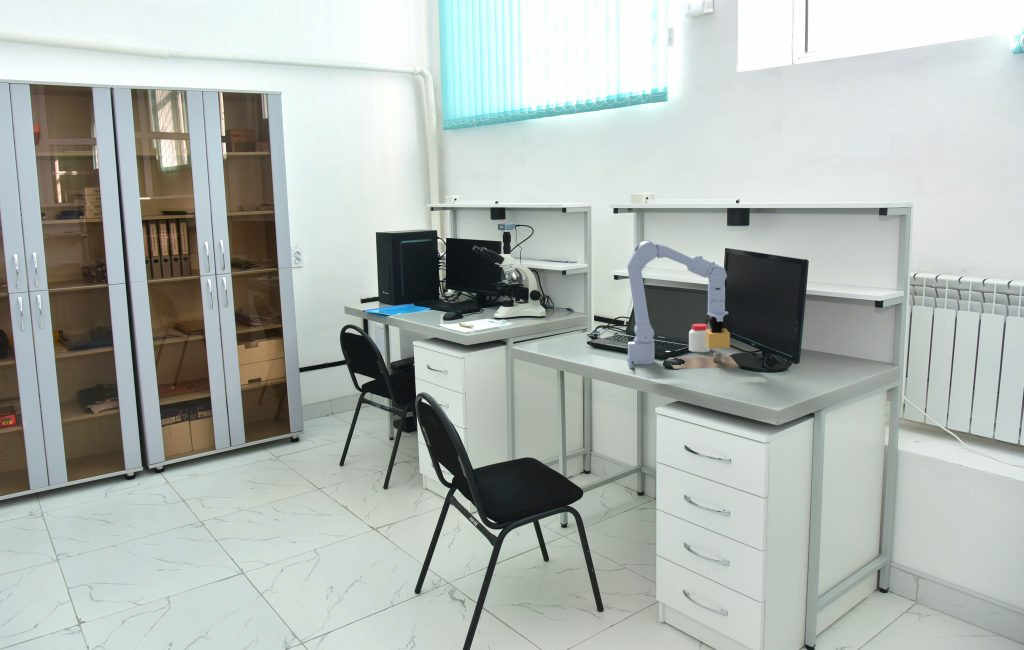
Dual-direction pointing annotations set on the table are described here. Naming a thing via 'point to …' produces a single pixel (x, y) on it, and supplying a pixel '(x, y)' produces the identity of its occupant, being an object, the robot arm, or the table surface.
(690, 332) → the pill bottle
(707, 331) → the orange open box
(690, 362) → the keeper board
